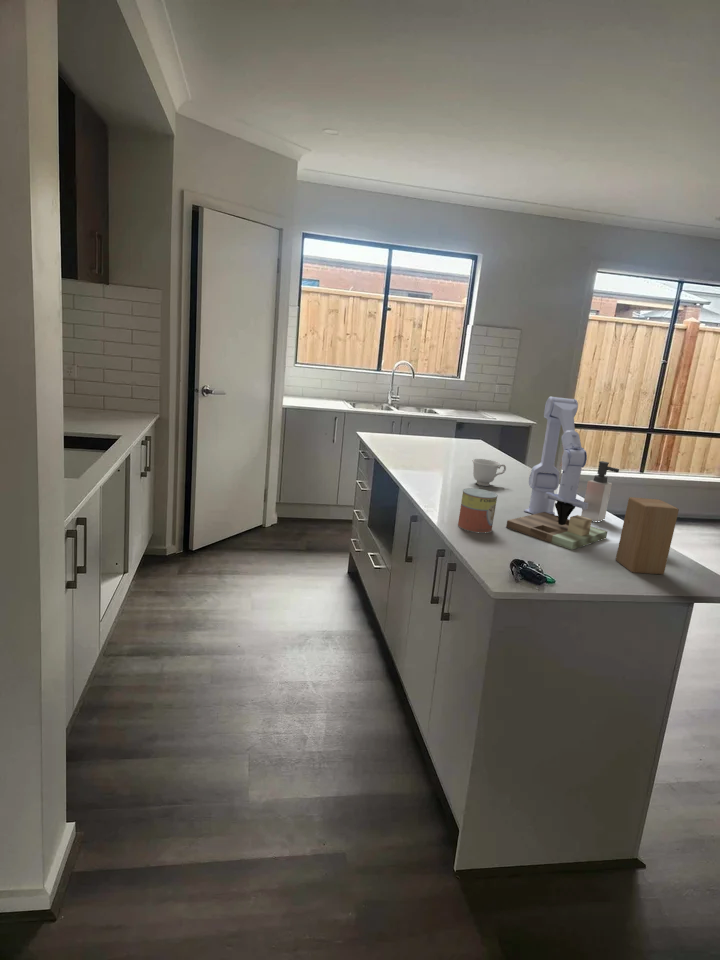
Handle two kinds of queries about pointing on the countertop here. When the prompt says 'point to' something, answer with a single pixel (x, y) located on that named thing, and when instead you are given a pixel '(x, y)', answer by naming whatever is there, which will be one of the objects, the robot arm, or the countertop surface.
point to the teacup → (486, 471)
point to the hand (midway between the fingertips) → (561, 524)
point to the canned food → (477, 510)
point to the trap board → (554, 530)
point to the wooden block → (646, 535)
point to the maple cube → (579, 525)
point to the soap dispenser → (598, 494)
